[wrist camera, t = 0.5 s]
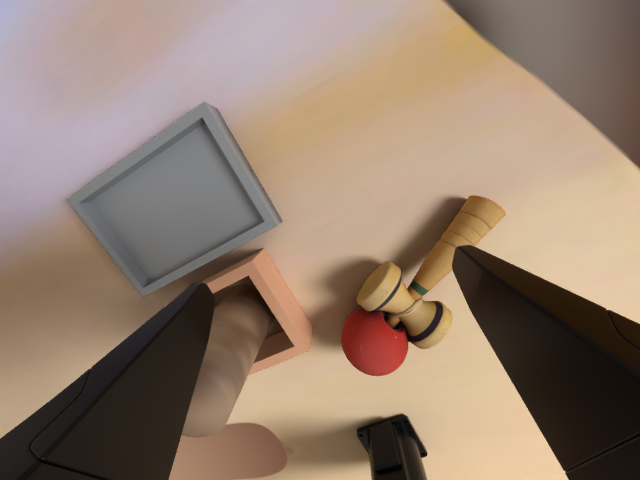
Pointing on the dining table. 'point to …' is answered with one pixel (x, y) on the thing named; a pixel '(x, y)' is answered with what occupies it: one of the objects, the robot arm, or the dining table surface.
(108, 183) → the grey tray
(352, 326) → the kendama
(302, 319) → the pink rectangular frame
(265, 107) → the dining table surface
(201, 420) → the walnut peg
